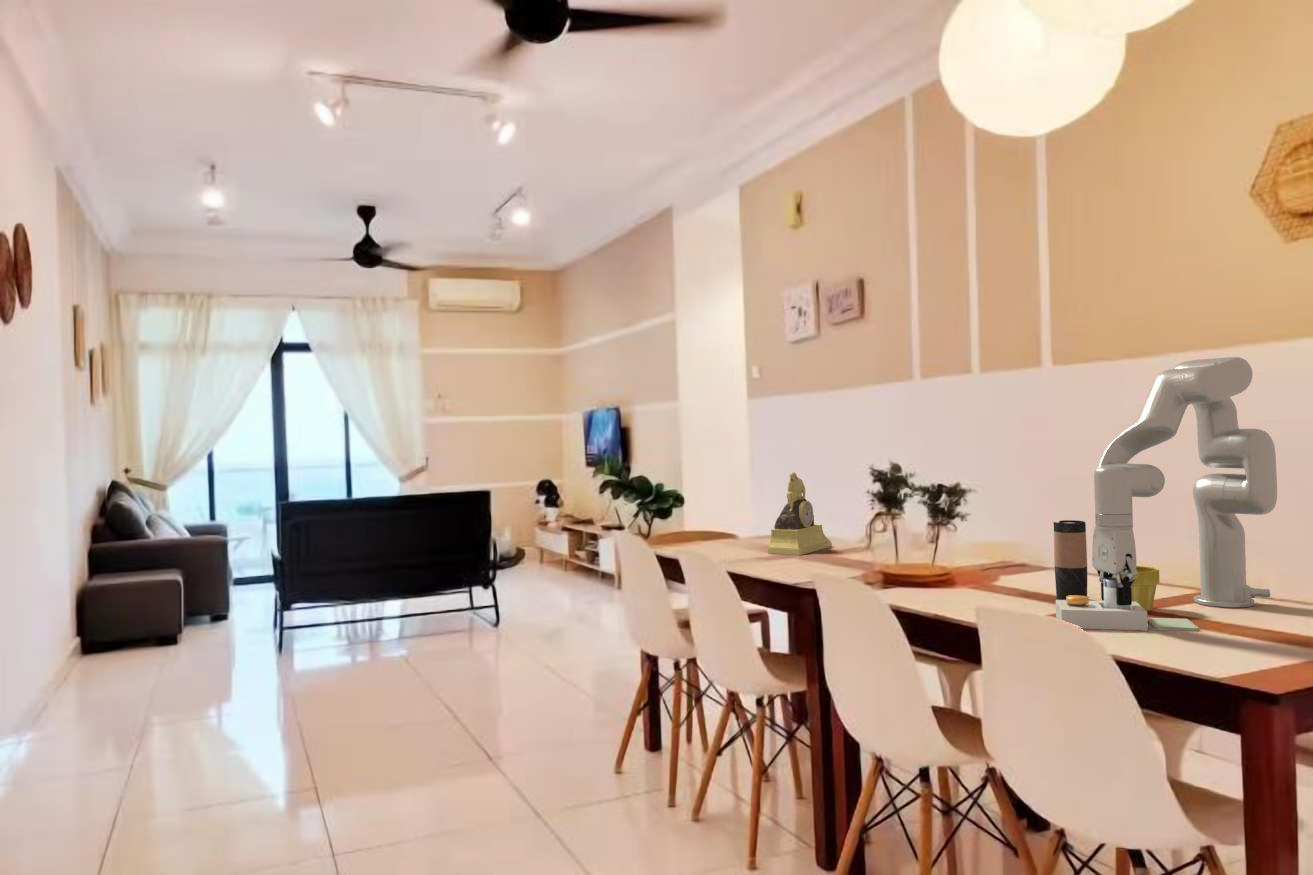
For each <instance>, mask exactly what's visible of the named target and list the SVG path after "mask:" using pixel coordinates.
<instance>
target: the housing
mask: <svg viewBox="0 0 1313 875" xmlns="http://www.w3.org/2000/svg"><path fill="white" fill-rule="evenodd" d="M1055 618H1056V619H1057V618H1058V619H1060V620H1064V621H1066V622H1069V623H1072V624H1075V625H1078V626H1080V627H1082V628H1081V629H1089V630H1090V629H1092V630H1121V631H1122V630H1123V631H1148V630H1149V629H1148V619H1147V618H1148V611H1146V610H1145V609H1144V608H1142V607H1141V606H1140V605H1139V604H1138V603H1137V602H1132V604H1131V605H1129V609H1106V608H1104V601H1103V600H1089V603H1088V604H1085V607H1070V603H1067V602H1066V600H1057V599H1055Z"/></svg>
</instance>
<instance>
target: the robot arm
mask: <svg viewBox="0 0 1313 875" xmlns="http://www.w3.org/2000/svg"><path fill="white" fill-rule="evenodd" d="M1253 376H1254V374H1253V369H1252V366H1251V365H1250V363H1249V362H1248V361H1247V360H1246V359H1245V358H1243V357H1240V356H1239V357H1238V356H1230V357H1229V356H1226V357H1219V358H1218V357H1215V358H1204V359H1193V360H1187V361H1184V362H1180V363H1178V364H1176V365H1175V366H1174V367H1173V368H1172V369H1171V368H1170V369H1166V370H1163V371H1162V372H1159V373H1158V374H1157V376H1155V378H1154V380H1153V382H1152V385H1151V387H1150V390H1149V392H1148V394H1147V396H1146V400H1145V402H1144V404H1143V406H1142V408H1141V411H1140V414H1139V415H1138V418H1137V420H1136V421H1135V422H1134V423H1133V424H1132V425H1130V426H1129V427H1127V428H1126V429H1125V430H1124V431H1122V432H1121V433H1120V434H1119V435H1118V436H1117V437H1116V438H1114V440H1112V442H1110V444H1108V446H1107V447H1106V449H1105V450H1104V452H1103V454H1102V456H1101V458H1100V461H1099V464H1098V467H1097V468H1095V470H1094V473H1093V482H1094V483H1093V485H1094V486H1093V488H1094V491H1093V492H1094V516H1095V517H1094V520H1095V521H1094V522H1095V526H1094V530H1093V536H1092V554H1091V562H1092V564H1091V565H1092V567H1093V568H1094V569H1095V570H1096V572H1097V574H1098V576H1099V577H1098V578H1099V580H1098V581H1099V583H1100V595H1101V596H1100V597H1101V601H1104V587H1103V578H1110V577H1114V575H1115V574H1116V577H1117V582H1118V586H1119V587H1116V597H1117V605H1119V606H1121V605H1131V604H1132V594H1131V587H1133V582H1134V580H1135V579H1136V578H1137V576H1138V572H1137V570H1136V566H1137V551H1136V550H1137V548H1136V542H1135V540H1136V539H1135V534H1134V531H1133V530H1134V518H1133V516H1134V514H1133V513H1134V512H1133V498H1151V497H1155V496H1157V495H1158V494H1160V492H1161V491H1163V489H1164V486H1165V484H1166V478H1165V475H1164V472H1162V470H1161V469H1160V467H1159V468H1158V467H1157V466H1155V465H1152V464H1147V463H1145V464H1144V463H1129V462H1130V461H1131V459H1132V458H1134V457H1135V456H1136V455H1138V454H1139V453H1142V452H1143V451H1145V450H1147V449H1150V448H1152V447H1155V446H1159V445H1160V444H1162V443H1165V442H1167V441H1169V440H1171V439H1172V438H1174V437H1175V436H1176V434H1177V432H1178V430H1179V427H1180V425H1181V423H1182V419H1183V417H1184V415H1185V412H1186V410H1187V408H1188V406H1189V405H1192V407H1193V408H1194V412H1195V415H1196V416H1195V417H1196V428H1197V434H1196V435H1197V447H1198V448H1197V450H1198V457H1199V461H1200V462H1201V464H1202V465H1204V466H1206V467H1207V468H1208V467H1209V468H1215V469H1244V472H1245V474H1242V473H1240V474H1239V473H1208V474H1205V475H1202V476H1200V477H1199V478H1197V480H1196V481H1195V483H1194V484H1193V489H1192V495H1193V501H1194V505H1195V509H1196V514H1197V520H1198V535H1199V536H1198V543H1199V574H1200V575H1199V576H1200V577H1199V579H1200V594H1196V595H1194V596H1193V602H1195V603H1196V604H1199V605H1204V606H1210V607H1211V606H1212V607H1218V608H1219V607H1220V608H1248V607H1253V606H1255V598H1256V597H1259V598H1270V596H1271V591H1270V589H1269V588H1260V587H1259V588H1257V587H1256V588H1255V587H1251V586H1250V585H1249V584H1247V563H1246V561H1247V559H1246V534H1245V529H1244V526H1243V525H1242V523H1241V521H1240V519H1239V518H1238V516H1237V515H1255V516H1261V515H1267V514H1270V513H1271V512H1272V511H1273V510H1274V509H1275V507H1276V504H1277V500H1278V479H1277V475H1278V474H1277V457H1276V455H1277V454H1276V447H1275V443H1274V440H1273V438H1272V436H1271V435H1270V434H1269V433H1268V432H1267V431H1265V430H1264V429H1260V428H1259V429H1258V428H1240V427H1239V420H1238V411H1237V410H1238V409H1237V406H1236V404H1235V402H1234V401H1233V399H1232V397H1234V396H1236V395H1239V394H1242V393H1244V392H1245V391H1246V390H1247V389H1248V388H1249V386H1251V383H1252V380H1253ZM1236 514H1237V515H1236ZM1122 571H1123V572H1126V573H1120V572H1122ZM1122 576H1125V577H1124V579H1123V580H1122Z"/></svg>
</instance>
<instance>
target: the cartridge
mask: <svg viewBox="0 0 1313 875" xmlns="http://www.w3.org/2000/svg"><path fill="white" fill-rule="evenodd" d="M1123 579H1124V578H1122V580H1123ZM1103 587H1104V608H1106V609H1129V605H1121V606H1119V605H1117V597H1116V587H1119V586H1118V582H1117V578H1115V577H1110V578H1103Z"/></svg>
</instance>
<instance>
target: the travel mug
mask: <svg viewBox="0 0 1313 875" xmlns="http://www.w3.org/2000/svg"><path fill="white" fill-rule="evenodd" d="M1086 525H1087V523H1086V521H1084V520H1074V519H1072V520H1071V519H1068V520H1066V519H1062V520H1059V521H1058V522H1056V521H1053V552H1054V554H1053V558H1054V560H1053V561H1054V562H1053V563H1054V565H1053V566H1054V578H1055V580H1054V581H1055V592H1056V600H1066V596H1070V595H1080V596H1087V597H1088V554H1087V553H1088V552H1087V548H1088V547H1087V529H1086V528H1087V526H1086Z"/></svg>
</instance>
